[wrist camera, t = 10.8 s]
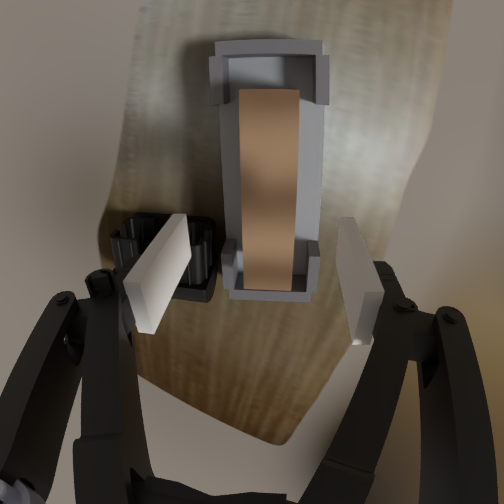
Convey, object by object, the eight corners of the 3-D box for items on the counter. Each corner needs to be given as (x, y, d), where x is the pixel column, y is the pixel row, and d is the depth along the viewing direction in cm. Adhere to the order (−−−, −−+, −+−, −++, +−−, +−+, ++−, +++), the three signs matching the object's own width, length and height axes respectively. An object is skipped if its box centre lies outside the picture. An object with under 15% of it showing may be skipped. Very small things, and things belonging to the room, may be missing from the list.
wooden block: (248, 88, 24) (238, 89, 19) (296, 89, 24) (299, 89, 19) (251, 253, 32) (243, 288, 27) (290, 254, 32) (291, 290, 27)
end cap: (137, 266, 36) (113, 301, 30) (129, 211, 32) (99, 240, 27) (219, 276, 35) (207, 316, 30) (219, 217, 32) (204, 251, 26)
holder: (218, 45, 23) (208, 40, 20) (322, 44, 22) (328, 38, 19) (231, 277, 35) (224, 300, 32) (313, 280, 34) (315, 303, 31)
